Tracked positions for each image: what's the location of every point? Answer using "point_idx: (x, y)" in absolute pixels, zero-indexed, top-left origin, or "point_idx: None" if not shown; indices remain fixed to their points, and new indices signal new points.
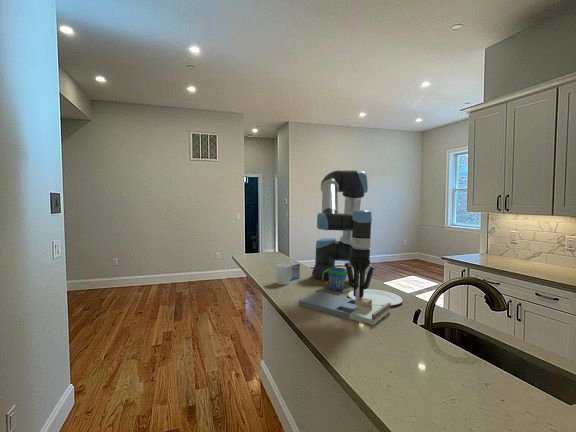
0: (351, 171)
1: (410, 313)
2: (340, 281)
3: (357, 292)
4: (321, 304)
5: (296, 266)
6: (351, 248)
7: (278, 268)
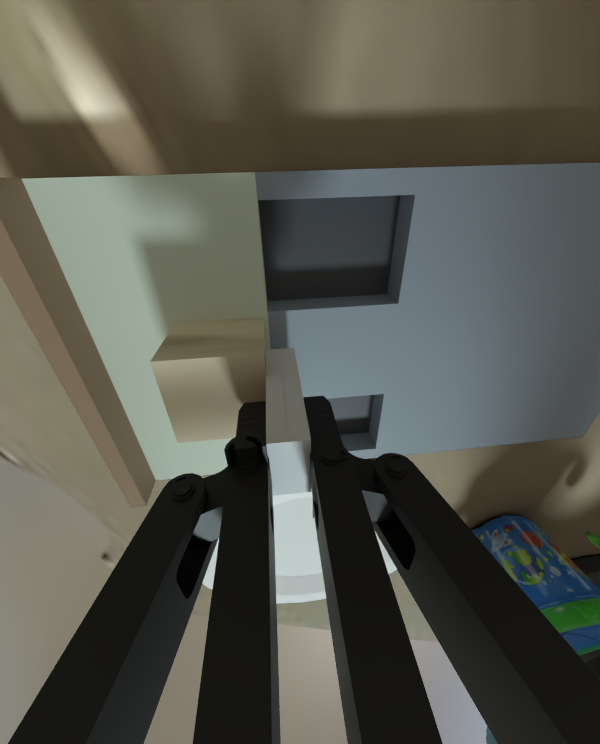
0: None
1: (83, 506)
2: (505, 569)
3: (283, 419)
4: (549, 219)
5: None
6: None
7: None
